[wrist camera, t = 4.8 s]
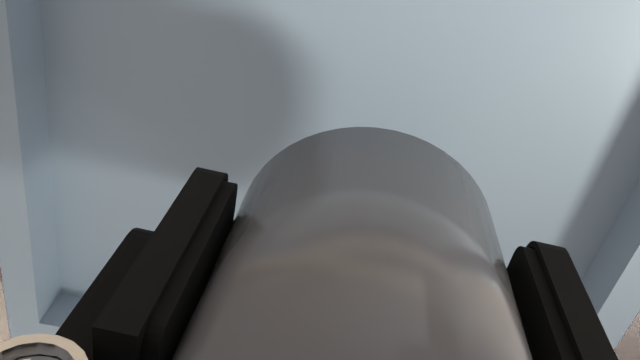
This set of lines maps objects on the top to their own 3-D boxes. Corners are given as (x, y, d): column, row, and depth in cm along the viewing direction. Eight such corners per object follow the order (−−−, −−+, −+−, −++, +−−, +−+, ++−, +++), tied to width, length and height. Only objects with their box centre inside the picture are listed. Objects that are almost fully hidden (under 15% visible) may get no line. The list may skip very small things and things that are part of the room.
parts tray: (883, -198, 11) (979, -208, 9) (535, 395, 20) (551, 445, 18) (-25, -400, 11) (-103, -450, 9) (42, 296, 20) (10, 339, 18)
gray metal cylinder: (533, 160, 10) (698, 497, 4) (448, 356, 12) (490, 719, 7) (255, 99, 10) (100, 364, 5) (227, 307, 12) (105, 631, 7)
